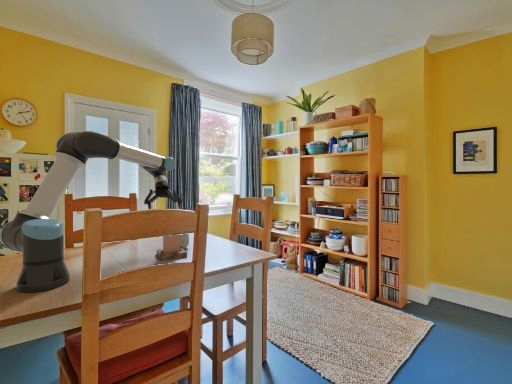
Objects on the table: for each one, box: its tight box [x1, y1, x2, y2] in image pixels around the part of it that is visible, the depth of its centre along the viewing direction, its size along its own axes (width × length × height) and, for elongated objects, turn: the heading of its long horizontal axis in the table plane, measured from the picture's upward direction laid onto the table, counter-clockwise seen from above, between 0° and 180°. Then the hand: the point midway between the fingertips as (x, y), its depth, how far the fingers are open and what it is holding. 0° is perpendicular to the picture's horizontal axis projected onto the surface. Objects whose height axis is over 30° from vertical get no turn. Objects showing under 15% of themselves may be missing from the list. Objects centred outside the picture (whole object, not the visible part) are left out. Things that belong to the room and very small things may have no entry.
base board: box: [156, 247, 188, 261], centre depth 134 cm, size 13×12×2 cm
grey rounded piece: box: [180, 233, 190, 250], centre depth 150 cm, size 14×11×8 cm
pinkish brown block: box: [162, 235, 180, 253], centre depth 134 cm, size 8×4×15 cm, turn 118°
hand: (165, 212), depth 141 cm, fingers open, 13 cm apart
